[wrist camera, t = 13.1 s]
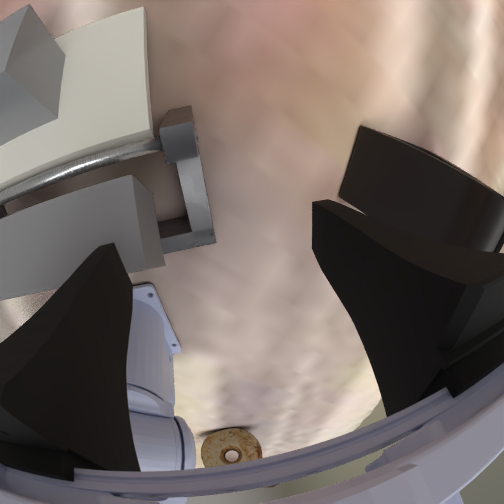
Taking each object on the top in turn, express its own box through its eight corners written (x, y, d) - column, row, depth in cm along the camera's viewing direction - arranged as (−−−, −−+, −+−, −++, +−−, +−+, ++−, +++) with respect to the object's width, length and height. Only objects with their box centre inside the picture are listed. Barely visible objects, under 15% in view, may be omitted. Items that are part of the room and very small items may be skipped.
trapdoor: (183, 261, 15) (170, 263, 11) (-2, 300, 14) (-39, 308, 10) (154, 44, 15) (143, 6, 11) (-4, 110, 14) (-32, 91, 10)
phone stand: (336, 195, 22) (432, 296, 13) (359, 123, 19) (486, 190, 9) (412, 210, 25) (498, 290, 15) (434, 153, 22) (536, 218, 12)
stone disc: (255, 421, 44) (268, 472, 36) (255, 428, 46) (267, 476, 38) (195, 430, 43) (203, 482, 35) (199, 436, 45) (207, 485, 37)
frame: (214, 225, 22) (226, 285, 16) (22, 270, 20) (-7, 326, 14) (192, 105, 16) (194, 121, 11) (-19, 181, 15) (-67, 224, 9)
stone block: (58, 118, 11) (4, 70, 6) (-3, 147, 10) (-59, 118, 5) (65, 55, 11) (29, 3, 6) (7, 84, 10) (-35, 47, 5)
